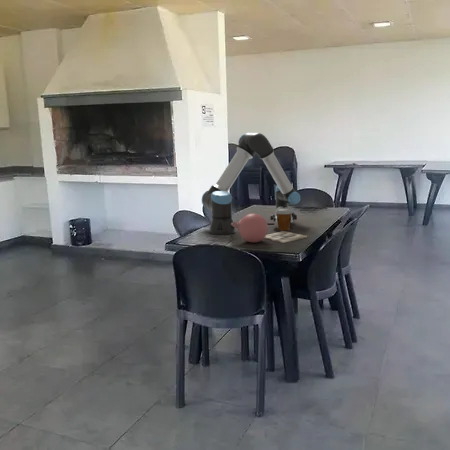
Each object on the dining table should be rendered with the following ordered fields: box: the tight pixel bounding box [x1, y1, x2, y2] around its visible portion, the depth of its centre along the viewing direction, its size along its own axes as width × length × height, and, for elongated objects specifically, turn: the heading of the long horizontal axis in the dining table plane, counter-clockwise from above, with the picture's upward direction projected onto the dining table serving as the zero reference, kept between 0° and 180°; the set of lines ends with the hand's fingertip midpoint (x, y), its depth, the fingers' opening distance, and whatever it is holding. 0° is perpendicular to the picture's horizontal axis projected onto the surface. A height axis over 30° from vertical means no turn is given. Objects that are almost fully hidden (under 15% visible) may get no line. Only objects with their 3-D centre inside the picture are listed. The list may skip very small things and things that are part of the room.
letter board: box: [263, 231, 308, 244], centre depth 287 cm, size 18×18×1 cm
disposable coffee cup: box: [275, 207, 293, 232], centre depth 306 cm, size 10×10×12 cm
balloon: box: [231, 212, 269, 244], centre depth 278 cm, size 15×20×15 cm
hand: (284, 220), depth 301 cm, fingers closed on disposable coffee cup, 8 cm apart
